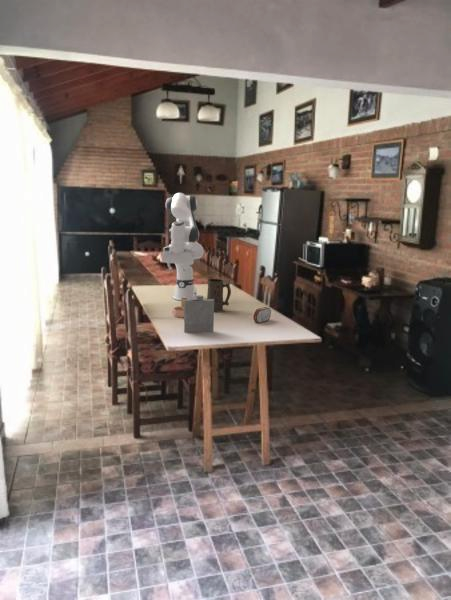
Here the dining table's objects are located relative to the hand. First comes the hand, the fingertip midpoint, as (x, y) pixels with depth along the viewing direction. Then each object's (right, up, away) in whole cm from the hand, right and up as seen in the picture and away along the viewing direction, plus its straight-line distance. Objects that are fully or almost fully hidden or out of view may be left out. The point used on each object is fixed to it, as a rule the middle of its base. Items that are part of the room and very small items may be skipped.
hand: (177, 270), depth 309 cm
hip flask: (+16, -36, -41) cm, 56 cm away
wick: (+5, -27, -6) cm, 27 cm away
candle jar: (+5, -27, -5) cm, 28 cm away
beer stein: (+25, -25, +11) cm, 37 cm away
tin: (+52, -31, -14) cm, 62 cm away
